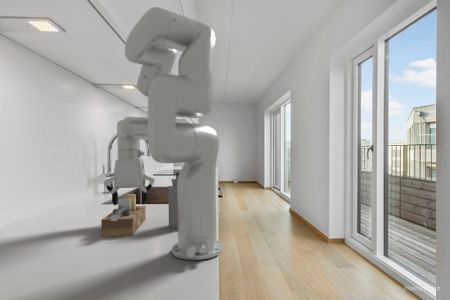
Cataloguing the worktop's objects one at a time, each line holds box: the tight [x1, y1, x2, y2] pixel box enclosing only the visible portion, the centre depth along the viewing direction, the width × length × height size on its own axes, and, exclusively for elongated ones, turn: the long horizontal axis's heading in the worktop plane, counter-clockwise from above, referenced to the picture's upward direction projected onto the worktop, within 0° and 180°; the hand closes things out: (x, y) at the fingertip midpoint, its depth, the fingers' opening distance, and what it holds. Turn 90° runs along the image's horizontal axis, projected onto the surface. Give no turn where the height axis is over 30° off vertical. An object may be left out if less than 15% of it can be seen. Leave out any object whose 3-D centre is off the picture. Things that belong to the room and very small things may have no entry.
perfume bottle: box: [167, 171, 180, 229], centre depth 94 cm, size 7×7×18 cm
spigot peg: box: [123, 193, 137, 211], centre depth 98 cm, size 4×4×10 cm
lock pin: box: [111, 198, 131, 221], centre depth 87 cm, size 12×4×4 cm, turn 5°
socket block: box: [100, 205, 147, 238], centre depth 93 cm, size 20×9×7 cm, turn 5°
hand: (130, 204), depth 98 cm, fingers open, 9 cm apart
